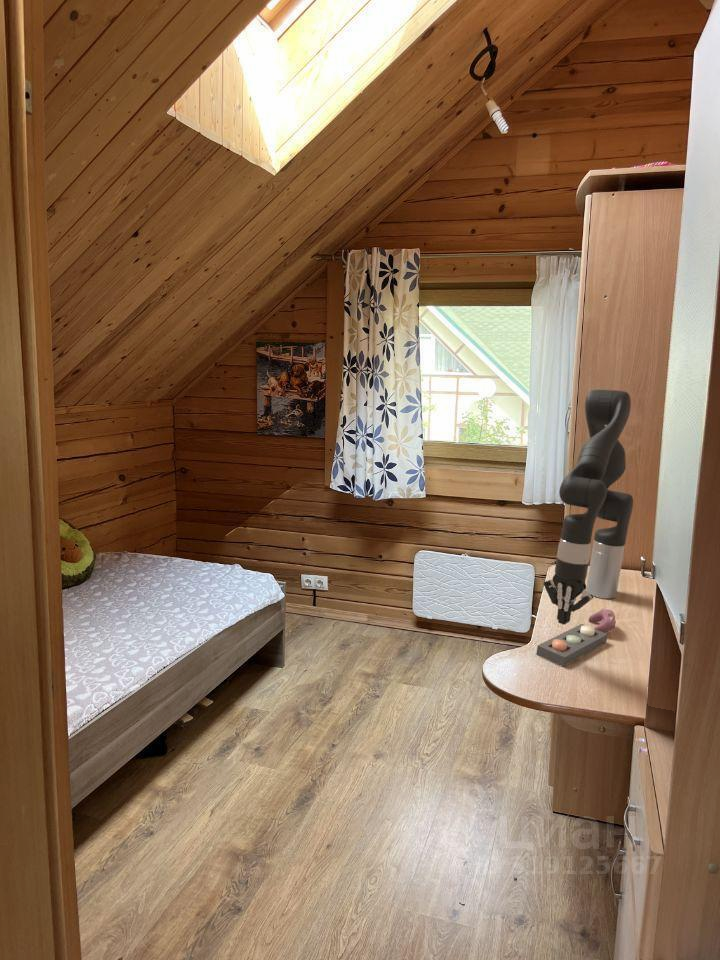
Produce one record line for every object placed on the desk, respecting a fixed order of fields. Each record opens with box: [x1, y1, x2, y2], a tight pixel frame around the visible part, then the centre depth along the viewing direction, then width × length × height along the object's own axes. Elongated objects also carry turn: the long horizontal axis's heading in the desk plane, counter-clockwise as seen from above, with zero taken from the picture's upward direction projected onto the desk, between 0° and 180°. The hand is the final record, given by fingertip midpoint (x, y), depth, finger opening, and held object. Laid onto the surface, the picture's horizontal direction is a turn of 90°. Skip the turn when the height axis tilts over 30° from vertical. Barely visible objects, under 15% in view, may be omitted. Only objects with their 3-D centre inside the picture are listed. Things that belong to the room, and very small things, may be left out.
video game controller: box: [588, 607, 617, 634], centre depth 190 cm, size 10×5×7 cm
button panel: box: [535, 623, 608, 667], centre depth 178 cm, size 22×8×2 cm, turn 133°
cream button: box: [580, 625, 595, 638], centre depth 182 cm, size 4×4×2 cm
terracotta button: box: [552, 639, 567, 652], centre depth 173 cm, size 4×4×2 cm
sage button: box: [566, 635, 581, 645], centre depth 177 cm, size 4×4×2 cm
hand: (562, 623), depth 171 cm, fingers closed
